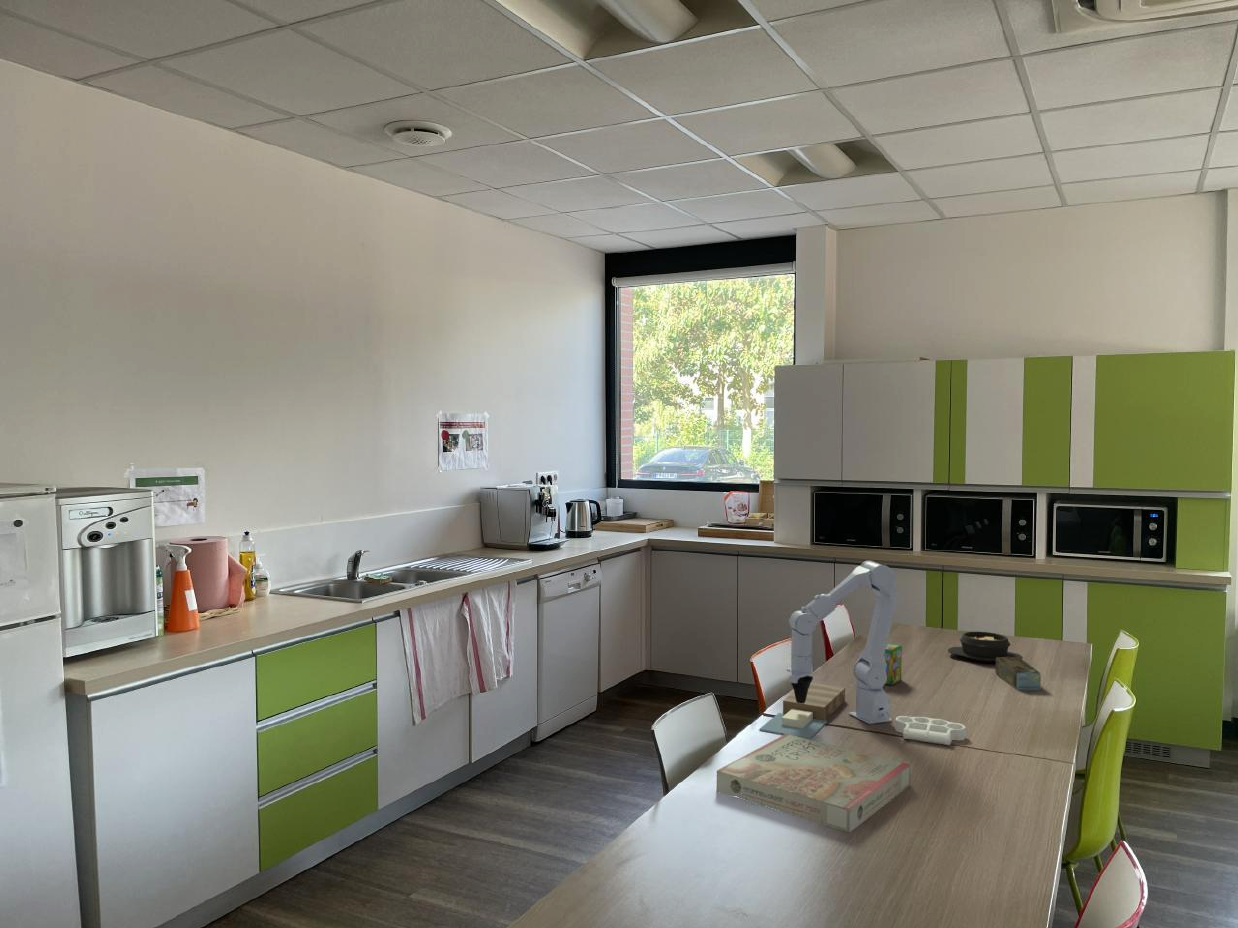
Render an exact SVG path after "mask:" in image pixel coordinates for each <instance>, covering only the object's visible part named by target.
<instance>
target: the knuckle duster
mask: <svg viewBox="0 0 1238 928" xmlns="http://www.w3.org/2000/svg"><path fill="white" fill-rule="evenodd" d="M894 726H895V729H894V730H895V731H896V732H898V733H901V734H902V738H903V739H904V740H907V739H908V740H910V741H915V742H916V741H917V742H922V743H923V742H924V743H927V742H928V743H930V744H936V745H937V744H938V745H942V744H943V745H944V746H948V747H949V746H951V745H952V744H951V743H952V742H953V741H952V740H961V741H964V740H963V739H965V738H966V736H967V735H966V733H967V728H966V726H965V725H964V724H963V723H958V722H951V721H948V720H946V719H941V718H931V717H927V716H907V715H899V716H896V717H895V725H894ZM965 740H966V739H965Z"/></svg>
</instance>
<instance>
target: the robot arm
mask: <svg viewBox="0 0 1238 928" xmlns="http://www.w3.org/2000/svg"><path fill="white" fill-rule="evenodd" d="M860 588H871V589H872V590H873V593H874V594H875V595H876V601H875V605H874V609H873V613H872V617H871V622H870V626H869V631H868V635H867V639H866V642H865V648H864V649H863V651H861V652H860V653H859V654H858V655H859V657H858V659H857V661H856V662H855V663H854V665H853V667H852V674H853V675H854V677H855V678H856V683H855V684H856V686H855V688H856V689H855V711H850V712H849V715H850V716H852V717H854V718H856V719H858V720H860V721H862V722H864V723H867V724H868V725H873V724H879V723H887V722H892V721H893V719H892V718H891V716H890V714H891V713H890V711H891V710H890V709H891V699H890V696H889V694H888V693H887V692H885V690H884V688H883V687H884V685H886V684H885V683H886V680H887V675H886V666H887V664H886V661H885V658H884V653H885V648H886V644H887V643H888V639H889V634H890V632H891V627H892V623H893V619H894V615H895V611H896V606H897V601H898V598H899V592H898V588H897V584H896V574H895V573H894V571H893V570H892V569H891V568H890V567H889V566H887V565H885V564H881V563H878V562H875V561H873V560H865V561H863V562H862V563H861V564H860V565H858V566H855V568H854V569H853V571H852V572H851V573H850V574H848V576H846V577H845V578H844V579H843V580H841V582H840V583H839V584H838V585H836V586H835V587H834V588H833V589H832V590H831V591H829V592H828V593H821V594H816V595H815V596H813V598H814V599H813V600H811V601H810V602H809V603H807V605H805V606H802V607H801V608H800V609H801V610H796V611H794V612H792V614H791V615H790V617H789V619H788V620H787V622H788V625H789V627H790V628H791V639H790V640H791V643H790V645H791V646H790V652H791V653H790V655H791V657H790V667H787V668H786V672H788V673H790V675H789V683H790V684H791V686H792V688H793V692H794V693H795V698H796V702H797V703H803V704H804V703H805V701H806V697H807V693H808V689H809V686H810V684H811V683H813V680H814V677H813V676H811V675H813V633H814V632H815V630H816V628H817V625H818V624H819V623H820V622H822V621H823V620H824V619H825V618H826V617H828V616H829V615H830V614H832V613H833V612H834V611H835V610H836V605H837V604H838V603H839V602H840V601H842V600H843V599H845V598H846V597H848V595H850V594H851V593H853V592H855V591H856V590H858V589H860Z"/></svg>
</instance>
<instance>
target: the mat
mask: <svg viewBox="0 0 1238 928" xmlns="http://www.w3.org/2000/svg"><path fill="white" fill-rule="evenodd" d="M784 715H785V714H783V712H782V713H781V712H778V713H777V714H776V715H774V716H773V717H772V718H771V719H769V720H768V721H767V722H766V723H765V724H764V725H762V726H761V727H760V728H759V730H758V731H760V732H765V733H770V734H776V735H782V736H783V735H785V734H789V735H793V736H797V737H801V738H805V739H809V740H812V738H813V737H814V736H815V735H816V734H817V733H818V732H819V731H820V730H821V729H822V728H823V727H824V726H825V725H826V724H827V723H828V721H827V720H825V721H824V720H818V719H812V720H811V721H810V722H809V723H808V724H807V725H806V726H805V727H804V728H798V727H792V726H786V725H782V717H783V716H784Z"/></svg>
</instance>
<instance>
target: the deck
mask: <svg viewBox="0 0 1238 928" xmlns="http://www.w3.org/2000/svg"><path fill="white" fill-rule="evenodd" d="M844 702H846V687H842V686H836V685H829V684H822V683H815V682H811V684H810V686H809V689H808V693H807V697H806V701H805V703H804V704H803V703H797V702H796V698H795V693H794V691H793V692H792V693H791V694H790V695H788V696H787V697H786V698H785V699H783V700H782V714H786V713H788V712H789V711H790V710H791V709H797V710H803V711H809V712H813V719H818V720H824V721H827V719H829V718H830V716H831V715H832V714H833V713H834V712H836V710H838V708H840V706H842V705H843V704H844Z"/></svg>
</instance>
